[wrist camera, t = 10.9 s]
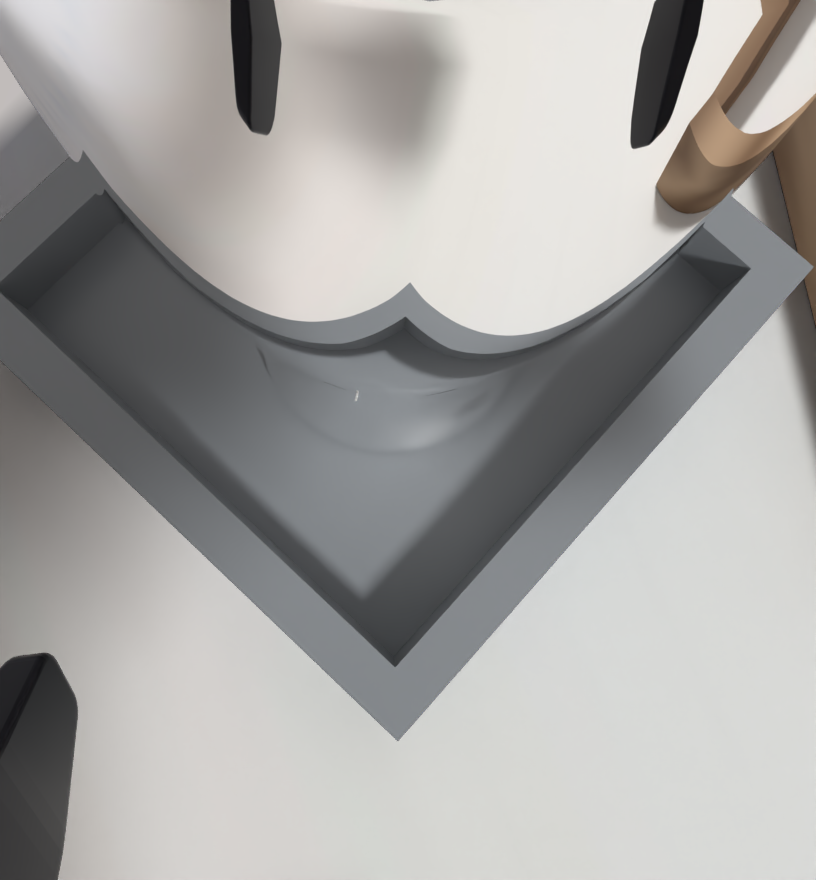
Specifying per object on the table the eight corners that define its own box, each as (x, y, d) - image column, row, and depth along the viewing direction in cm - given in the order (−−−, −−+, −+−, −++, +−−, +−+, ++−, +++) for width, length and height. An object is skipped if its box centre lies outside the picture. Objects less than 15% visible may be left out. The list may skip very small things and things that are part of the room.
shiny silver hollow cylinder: (270, 163, 18) (-192, -1500, 3) (557, 209, 18) (1307, -1214, 4) (216, 448, 17) (-775, -172, 2) (520, 495, 17) (1349, 180, 3)
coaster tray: (758, 303, 19) (813, 266, 17) (394, 714, 18) (397, 741, 15) (368, -35, 20) (366, -117, 18) (-14, 323, 18) (-75, 288, 16)
